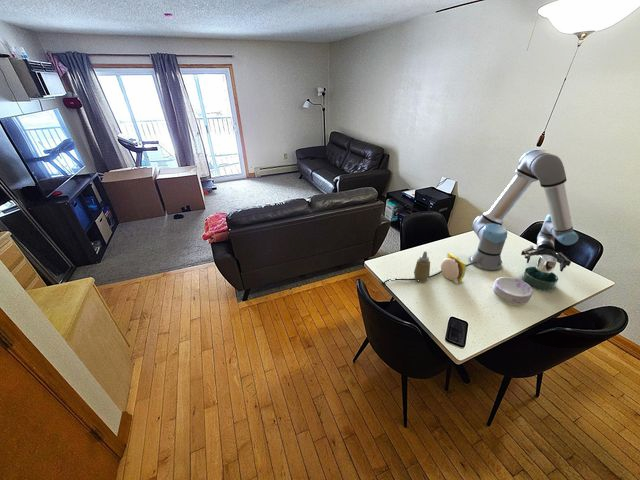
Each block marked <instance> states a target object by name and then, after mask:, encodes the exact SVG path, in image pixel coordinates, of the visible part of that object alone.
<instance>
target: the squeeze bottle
mask: <svg viewBox="0 0 640 480" xmlns="http://www.w3.org/2000/svg"><path fill="white" fill-rule="evenodd" d="M415 263H416V264H415V267H414V271H413V275H414V279H415V278H416V280H415V281H417V282H419V283H425V282H427V280H428V279H429V278H428V277H429V276H431V275H430V272H431V261H430V257H429V256H428V252H427V250H424V251H423V253H422V255H420V256H419V258H418V259H417V260H416V262H415ZM418 280H419V281H418Z"/></svg>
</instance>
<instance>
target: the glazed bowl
mask: <svg viewBox="0 0 640 480" xmlns="http://www.w3.org/2000/svg"><path fill="white" fill-rule="evenodd" d="M535 269H536V266H528V267H526V268H525V270H524V271H523V273H522V276H521V280H522V281H524V282H526V283H527V284H528V285H530V286H531V288H532V289H536V290H538V291H544V292H546V291H552V290H554V289H555V287H556V285H557V283H558V281H559V277H558V275H556V273H554V272H553V271H552V272H551V274H550V275H549V276H548V277H547V279H546V282H544V281H540V280H537V279H535V278H533V276H534V274H535Z"/></svg>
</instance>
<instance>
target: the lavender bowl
mask: <svg viewBox="0 0 640 480" xmlns="http://www.w3.org/2000/svg"><path fill="white" fill-rule="evenodd" d="M492 292H493V294H495V296H496V297H497V298H498V299H499V300H500V301H502V302H504V303H505V304H508V305H513V306H519V305H525V304H528V303H529V302H530V301H531V299H532V296H533V294H534V288H532V287H531V286H530V285H528V284H527V283H526V282H524V281H523V280H522V279H519V278H517V277H512V276H501V277H497V278H496V279H495V280H494V283H493V286H492Z"/></svg>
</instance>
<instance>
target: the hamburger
mask: <svg viewBox="0 0 640 480" xmlns="http://www.w3.org/2000/svg"><path fill="white" fill-rule="evenodd" d="M466 265H467V264H466V263H465V262H464V261H462V260H461V258H459V257H458V256H455V255H453V254H452V253H449V252H447V254H446V258H444V259H443V260H442V261H441V263H440V271H442V273H441V274H442V275H443V277H445V278H446V279H447V280H449V281H453V282H454V283H455V284H459V283H460V284H461V283H462V281H463V278H464V277H465V274H466V268H467V267H466Z"/></svg>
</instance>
